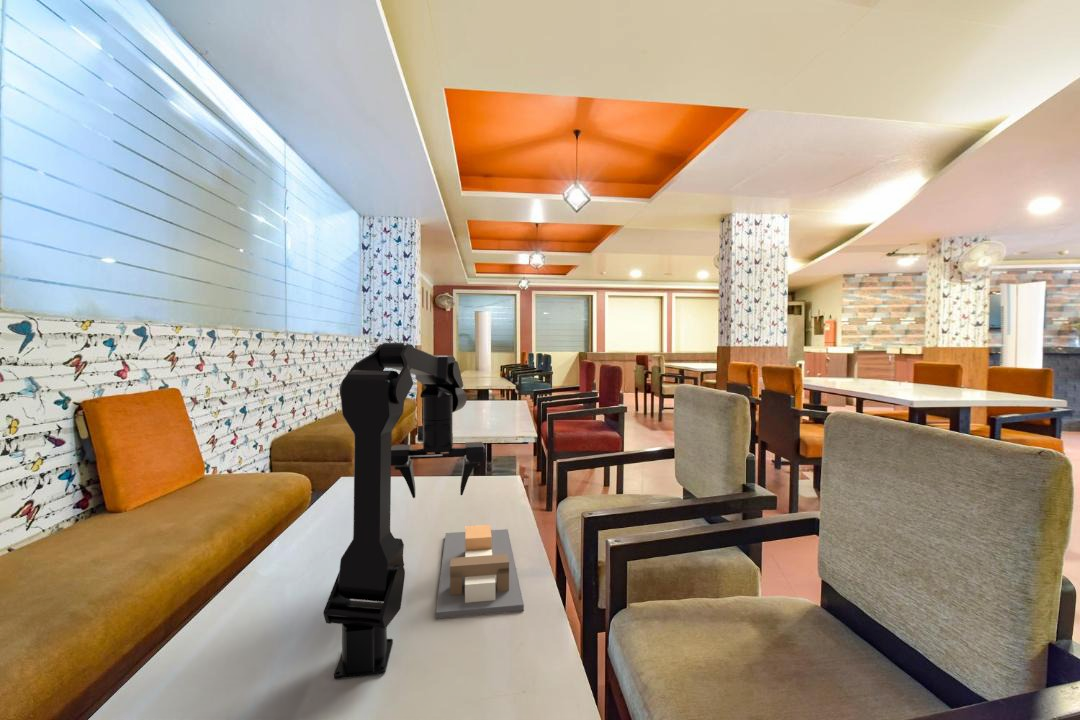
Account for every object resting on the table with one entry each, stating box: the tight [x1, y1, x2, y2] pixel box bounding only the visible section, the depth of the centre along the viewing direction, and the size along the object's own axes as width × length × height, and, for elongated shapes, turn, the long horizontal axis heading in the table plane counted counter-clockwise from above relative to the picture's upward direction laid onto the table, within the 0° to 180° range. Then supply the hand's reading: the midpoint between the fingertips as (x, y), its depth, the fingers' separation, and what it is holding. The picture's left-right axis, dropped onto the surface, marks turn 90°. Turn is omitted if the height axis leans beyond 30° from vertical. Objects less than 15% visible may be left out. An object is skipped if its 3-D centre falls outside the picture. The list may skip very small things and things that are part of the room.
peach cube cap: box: [465, 524, 492, 551], centre depth 88 cm, size 6×5×5 cm
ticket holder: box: [435, 528, 525, 620], centre depth 86 cm, size 30×14×6 cm, turn 9°
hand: (438, 496), depth 88 cm, fingers open, 9 cm apart
